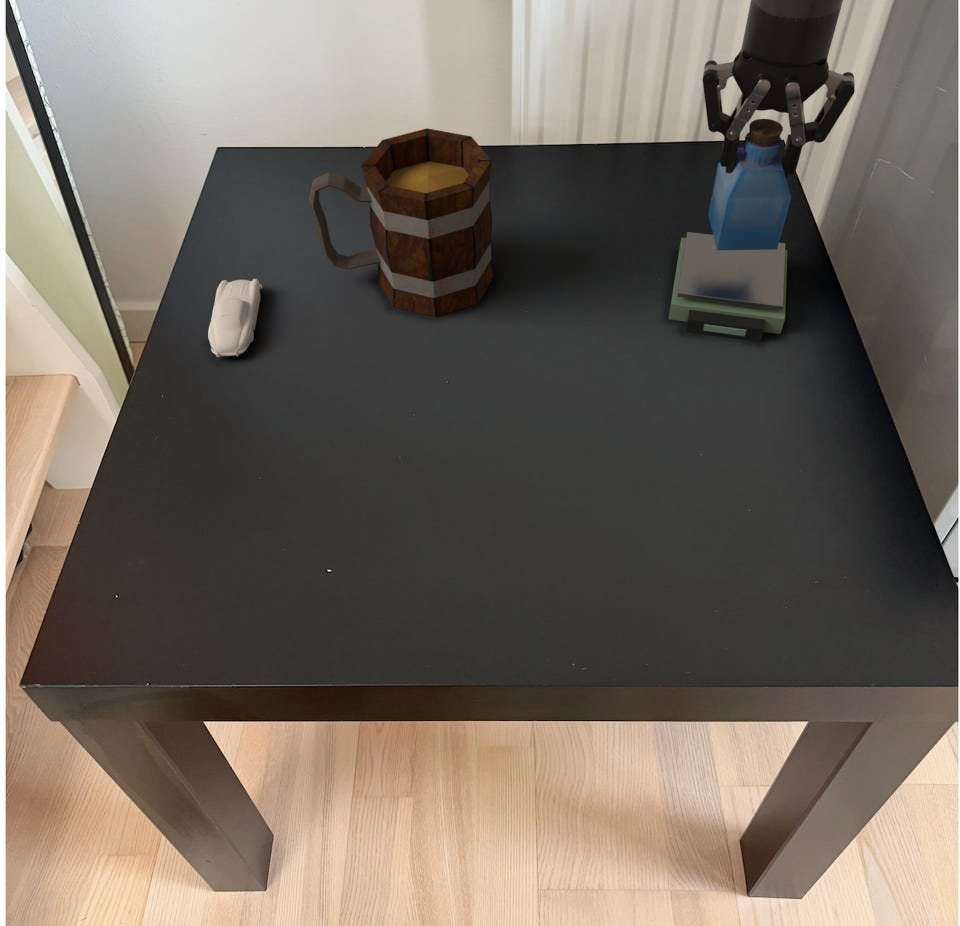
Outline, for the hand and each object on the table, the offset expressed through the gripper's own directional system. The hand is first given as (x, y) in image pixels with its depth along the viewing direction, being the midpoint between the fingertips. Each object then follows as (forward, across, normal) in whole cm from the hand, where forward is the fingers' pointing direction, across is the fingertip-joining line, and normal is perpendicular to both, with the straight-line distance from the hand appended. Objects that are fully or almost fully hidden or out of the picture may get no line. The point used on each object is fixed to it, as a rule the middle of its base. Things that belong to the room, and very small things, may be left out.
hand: (756, 170), depth 90 cm
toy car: (+16, -53, -16) cm, 58 cm away
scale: (+16, 0, 0) cm, 16 cm away
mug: (+16, -36, -5) cm, 40 cm away
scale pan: (+13, 0, 0) cm, 13 cm away
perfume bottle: (+8, 0, 0) cm, 8 cm away
